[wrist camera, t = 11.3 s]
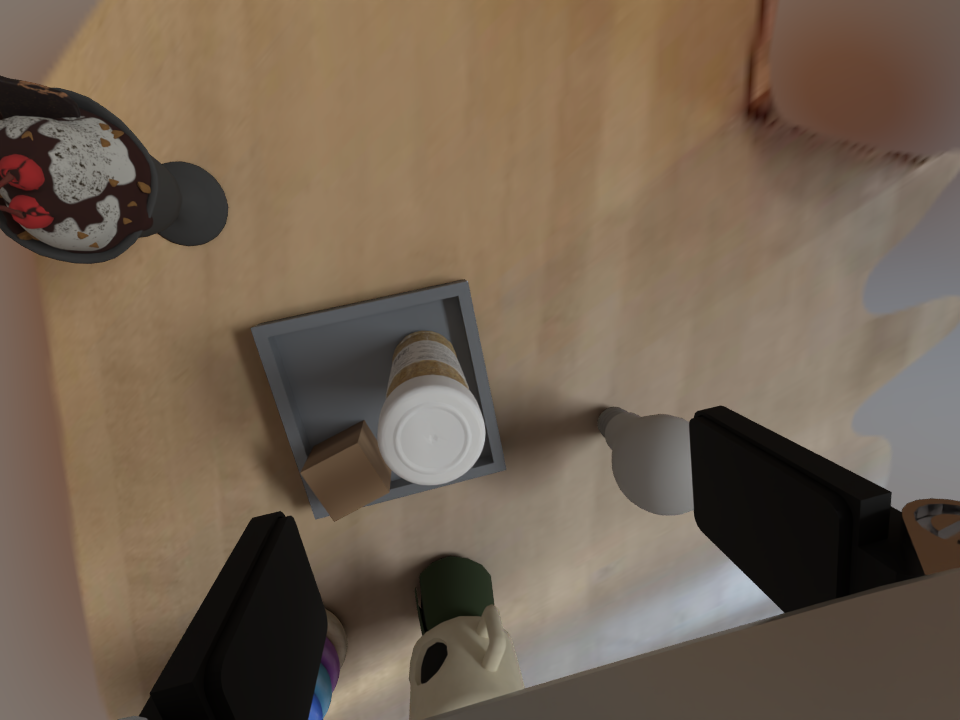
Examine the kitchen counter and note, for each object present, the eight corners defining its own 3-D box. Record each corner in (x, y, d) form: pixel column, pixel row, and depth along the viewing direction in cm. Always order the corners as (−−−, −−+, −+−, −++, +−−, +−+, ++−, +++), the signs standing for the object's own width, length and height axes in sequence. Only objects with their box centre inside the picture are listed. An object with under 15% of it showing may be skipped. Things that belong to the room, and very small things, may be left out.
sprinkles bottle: (424, 404, 32) (431, 509, 19) (377, 360, 31) (351, 441, 18) (470, 360, 32) (509, 438, 19) (425, 314, 31) (434, 363, 18)
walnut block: (313, 446, 32) (300, 472, 28) (364, 419, 32) (357, 442, 28) (343, 490, 33) (334, 521, 29) (392, 464, 33) (389, 492, 29)
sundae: (208, 281, 29) (7, 309, 14) (104, 214, 27) (-242, 170, 13) (265, 196, 28) (112, 137, 14) (162, 122, 27) (-134, -34, 12)
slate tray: (260, 323, 30) (250, 328, 28) (464, 279, 31) (467, 281, 29) (320, 504, 34) (315, 519, 32) (501, 457, 35) (506, 469, 33)
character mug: (432, 517, 35) (444, 661, 23) (515, 535, 37) (569, 681, 24) (391, 631, 37) (381, 824, 25) (472, 645, 39) (501, 833, 26)
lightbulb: (555, 421, 35) (618, 494, 24) (612, 365, 34) (701, 414, 24) (604, 468, 36) (683, 556, 26) (659, 415, 36) (762, 483, 26)
